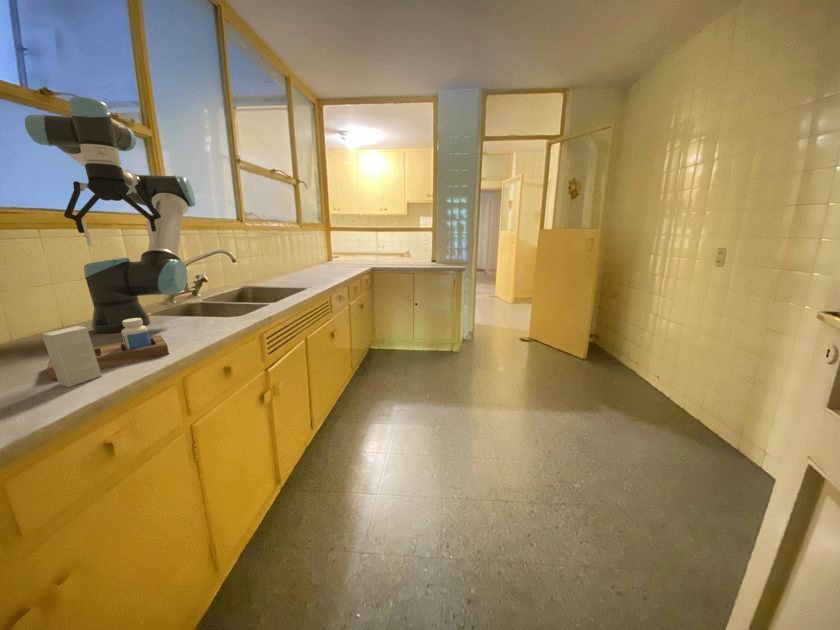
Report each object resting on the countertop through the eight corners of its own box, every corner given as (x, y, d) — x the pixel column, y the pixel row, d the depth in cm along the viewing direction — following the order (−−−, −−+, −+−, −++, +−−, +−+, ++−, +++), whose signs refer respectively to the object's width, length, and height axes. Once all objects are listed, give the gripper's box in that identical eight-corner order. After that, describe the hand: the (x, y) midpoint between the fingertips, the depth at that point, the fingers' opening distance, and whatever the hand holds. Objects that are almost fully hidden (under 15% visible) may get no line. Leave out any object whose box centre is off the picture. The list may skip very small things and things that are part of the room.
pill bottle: (158, 351, 93) (150, 317, 90) (140, 358, 87) (131, 322, 85) (140, 350, 93) (132, 316, 91) (121, 357, 88) (112, 322, 86)
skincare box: (92, 373, 79) (77, 325, 76) (102, 376, 77) (88, 327, 74) (57, 384, 73) (40, 333, 70) (67, 388, 72) (50, 335, 69)
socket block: (54, 366, 83) (50, 355, 82) (162, 344, 98) (160, 335, 97) (50, 380, 75) (47, 368, 75) (169, 353, 90) (166, 344, 90)
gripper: (32, 156, 79) (59, 247, 85) (162, 167, 96) (177, 242, 101) (36, 160, 84) (60, 246, 90) (158, 170, 101) (172, 241, 107)
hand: (122, 244), depth 96 cm, fingers open, 13 cm apart
